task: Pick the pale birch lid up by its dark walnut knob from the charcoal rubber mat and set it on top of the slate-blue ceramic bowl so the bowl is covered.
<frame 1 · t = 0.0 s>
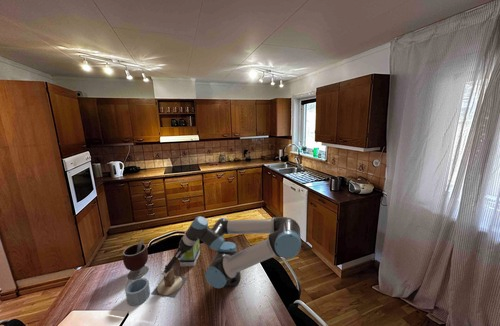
hand: (171, 266, 115), 15 cm above the table, tool tilted 35°, fingers open, 13 cm apart
tea box: (190, 259, 144), on the table
mate gourd: (139, 272, 133), on the table
lid: (170, 285, 120), resting on mat
bowl: (139, 298, 113), on the table
mat: (170, 286, 120), on the table
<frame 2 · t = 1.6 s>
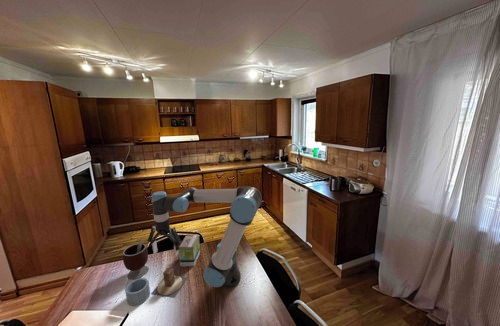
hand: (166, 253, 116), 22 cm above the table, tool pointing down, fingers open, 13 cm apart
nothing on the table moved.
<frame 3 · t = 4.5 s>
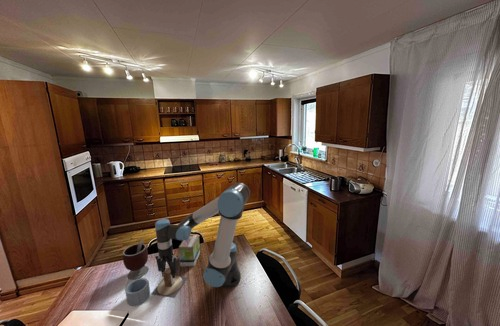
hand: (169, 281, 120), 3 cm above the table, tool pointing down, fingers closed on lid, 4 cm apart
lid: (170, 285, 120), point 1 cm above the table, touching gripper, mat
everything else where it was.
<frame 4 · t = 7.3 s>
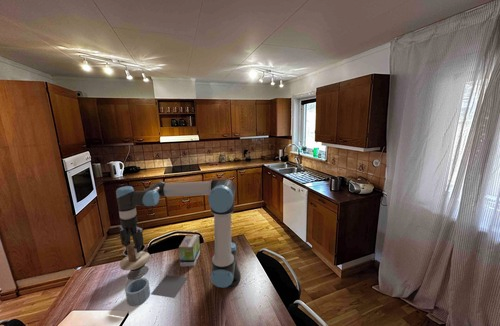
hand: (134, 256, 109), 25 cm above the table, tool pointing down, fingers closed on lid, 4 cm apart
lid: (135, 261, 109), point 23 cm above the table, touching gripper
everything else where it was.
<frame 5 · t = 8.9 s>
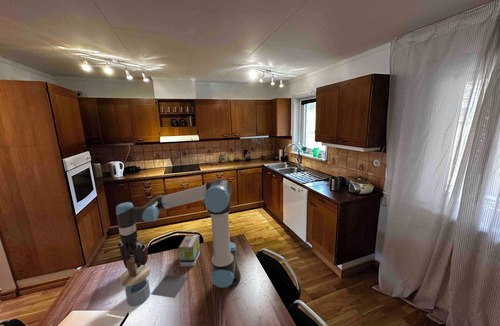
hand: (134, 271, 109), 17 cm above the table, tool pointing down, fingers closed on lid, 4 cm apart
lid: (135, 275, 110), point 14 cm above the table, touching gripper
everything else where it was.
when the fingers open (12 cm above the table, at t = 10.4 s): lid drops 1 cm, resting on bowl.
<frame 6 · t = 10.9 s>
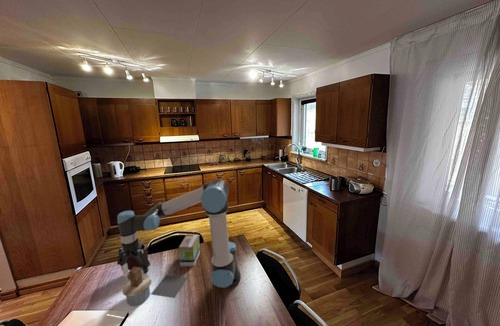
hand: (135, 276, 110), 14 cm above the table, tool pointing down, fingers open, 11 cm apart
lid: (137, 285, 111), point 8 cm above the table, touching bowl
everything else where it was.
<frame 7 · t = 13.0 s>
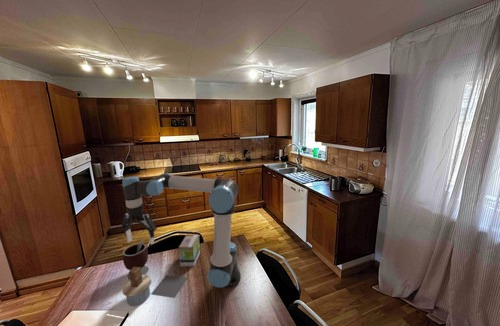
hand: (140, 242, 111), 31 cm above the table, tool pointing down, fingers open, 13 cm apart
nothing on the table moved.
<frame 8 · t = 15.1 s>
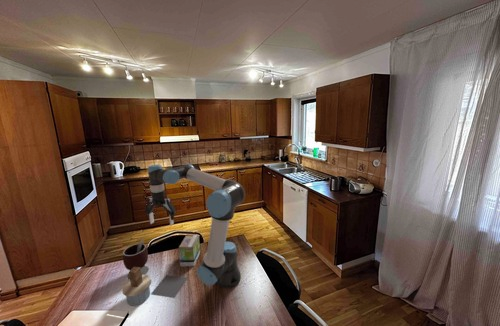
hand: (162, 223, 124), 35 cm above the table, tool pointing down, fingers open, 13 cm apart
nothing on the table moved.
at the end: lid 0.1 cm off-centre on the bowl, point 8.0 cm above the bowl's base; lid tilted 0°; the gripper is holding nothing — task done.
